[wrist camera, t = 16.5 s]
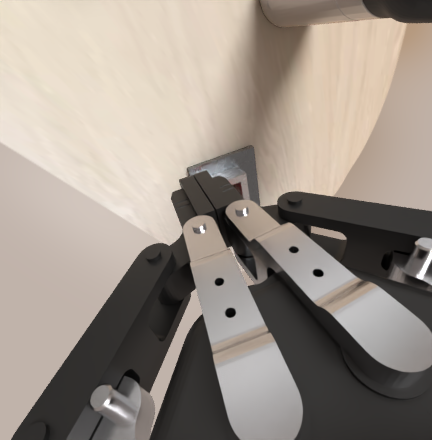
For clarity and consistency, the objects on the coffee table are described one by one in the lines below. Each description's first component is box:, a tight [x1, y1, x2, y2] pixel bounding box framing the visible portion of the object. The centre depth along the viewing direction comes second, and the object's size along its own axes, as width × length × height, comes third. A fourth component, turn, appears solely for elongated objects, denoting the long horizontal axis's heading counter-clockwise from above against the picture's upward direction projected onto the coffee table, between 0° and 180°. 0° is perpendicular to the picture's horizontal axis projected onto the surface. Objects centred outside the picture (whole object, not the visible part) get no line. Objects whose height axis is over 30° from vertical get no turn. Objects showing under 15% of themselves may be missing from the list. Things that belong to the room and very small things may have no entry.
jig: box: [187, 146, 260, 206], centre depth 47 cm, size 12×14×4 cm
